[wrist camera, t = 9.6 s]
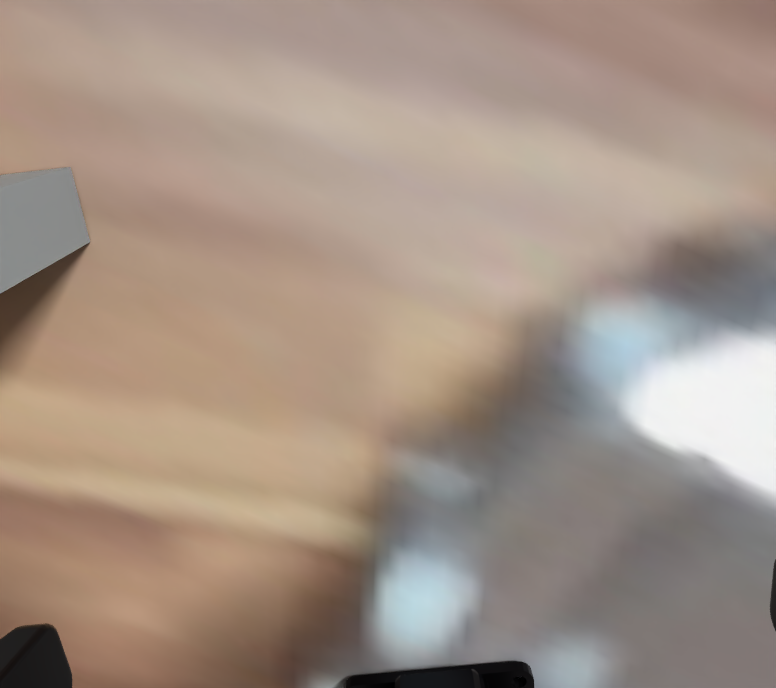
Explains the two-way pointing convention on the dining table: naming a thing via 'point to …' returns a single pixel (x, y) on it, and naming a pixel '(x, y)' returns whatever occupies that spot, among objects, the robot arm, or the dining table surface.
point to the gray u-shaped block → (37, 222)
